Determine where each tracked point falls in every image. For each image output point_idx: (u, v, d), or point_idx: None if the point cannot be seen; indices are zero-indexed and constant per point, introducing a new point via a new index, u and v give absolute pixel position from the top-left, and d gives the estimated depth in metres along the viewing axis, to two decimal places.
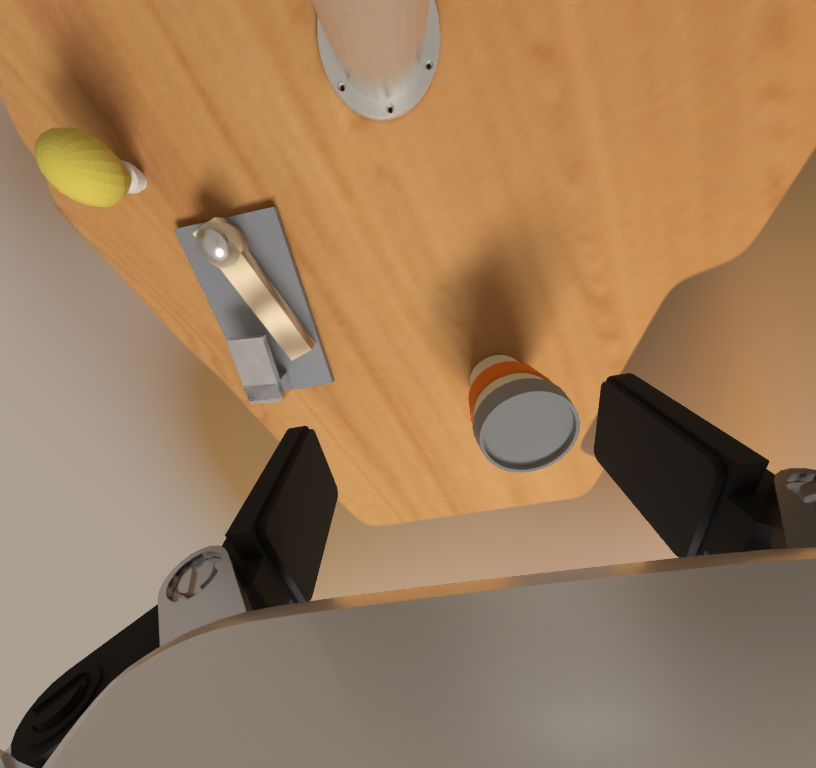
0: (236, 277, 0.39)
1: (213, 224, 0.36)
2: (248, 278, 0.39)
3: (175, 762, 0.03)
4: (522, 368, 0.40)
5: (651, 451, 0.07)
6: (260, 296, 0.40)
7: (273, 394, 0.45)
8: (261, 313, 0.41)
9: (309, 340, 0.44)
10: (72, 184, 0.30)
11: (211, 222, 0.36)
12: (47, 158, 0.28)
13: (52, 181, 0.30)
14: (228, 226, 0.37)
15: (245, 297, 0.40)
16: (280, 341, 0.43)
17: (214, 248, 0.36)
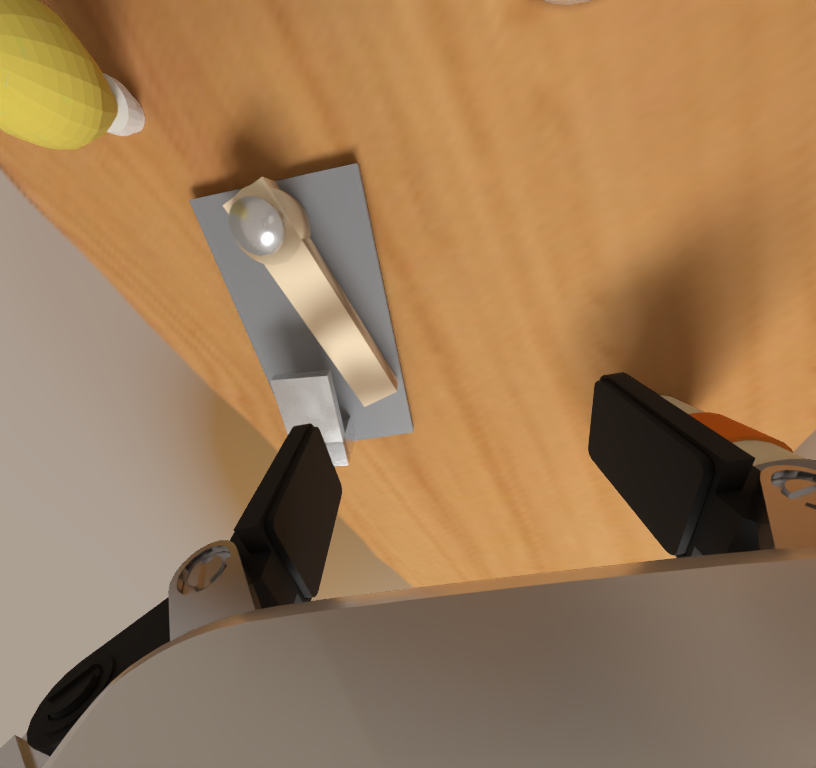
0: (291, 280, 0.24)
1: (259, 189, 0.21)
2: (310, 282, 0.24)
3: (175, 762, 0.03)
4: (749, 431, 0.25)
5: (643, 449, 0.07)
6: (327, 311, 0.25)
7: (335, 455, 0.30)
8: (326, 337, 0.26)
9: (391, 376, 0.29)
10: None
11: (256, 186, 0.21)
12: None
13: None
14: (283, 194, 0.22)
15: (303, 311, 0.25)
16: (350, 379, 0.28)
17: (261, 231, 0.21)
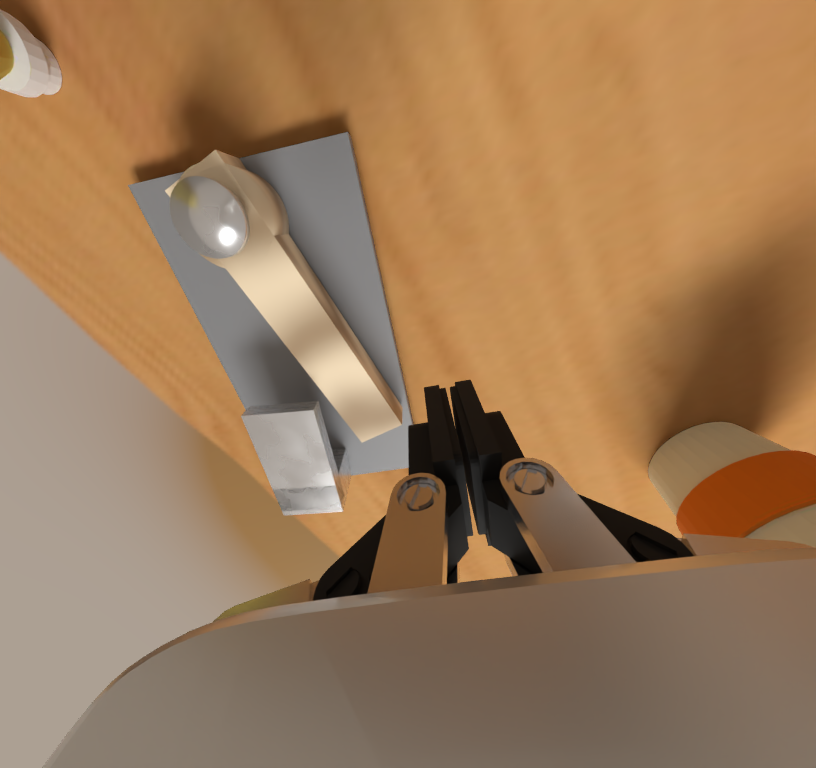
0: (263, 290, 0.18)
1: (213, 168, 0.15)
2: (289, 292, 0.18)
3: (175, 762, 0.03)
4: None
5: (462, 446, 0.09)
6: (311, 329, 0.19)
7: (326, 501, 0.24)
8: (312, 360, 0.20)
9: (395, 405, 0.24)
10: None
11: (208, 163, 0.15)
12: None
13: None
14: (247, 174, 0.16)
15: (281, 329, 0.19)
16: (344, 411, 0.22)
17: (216, 225, 0.15)
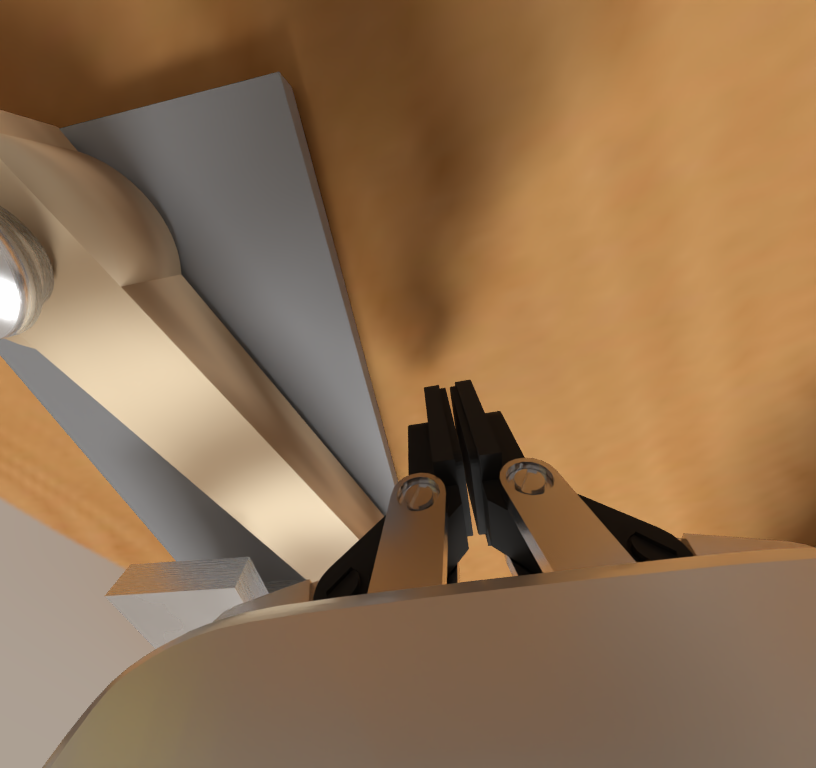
0: (122, 386, 0.09)
1: None
2: (172, 389, 0.09)
3: (175, 762, 0.03)
4: None
5: (462, 446, 0.09)
6: (226, 448, 0.10)
7: None
8: (234, 496, 0.11)
9: None
10: None
11: None
12: None
13: None
14: (43, 155, 0.07)
15: (170, 450, 0.10)
16: (298, 563, 0.13)
17: None
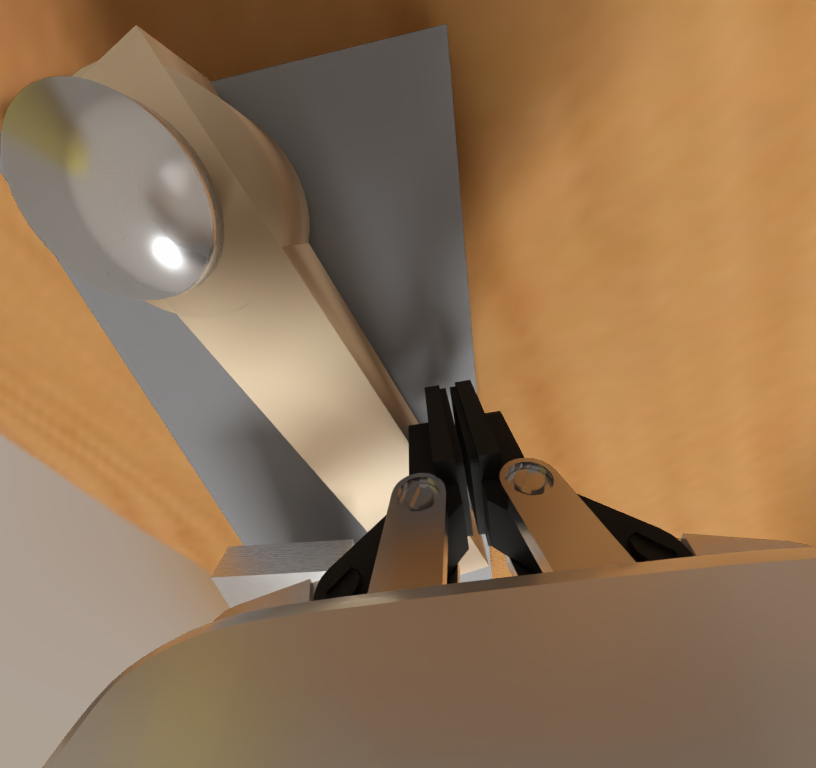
0: (256, 356, 0.09)
1: (133, 77, 0.06)
2: (308, 360, 0.09)
3: (175, 762, 0.03)
4: None
5: (462, 446, 0.09)
6: (349, 425, 0.10)
7: None
8: (344, 475, 0.11)
9: (473, 526, 0.14)
10: None
11: (120, 64, 0.06)
12: None
13: None
14: (222, 102, 0.07)
15: (290, 426, 0.10)
16: None
17: (134, 219, 0.06)
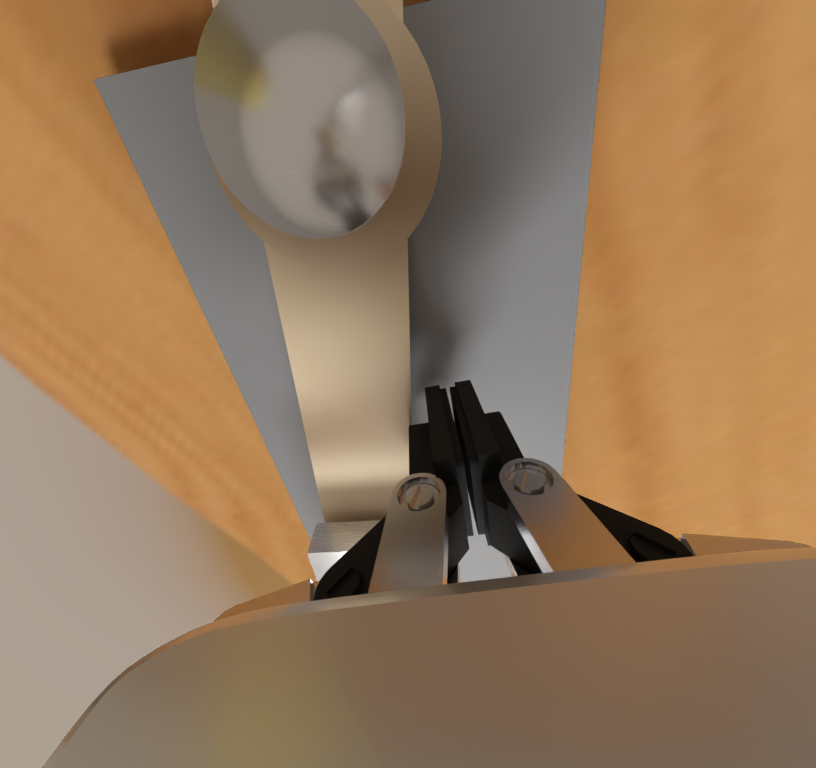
0: (319, 319, 0.09)
1: (368, 14, 0.06)
2: (367, 346, 0.09)
3: (175, 762, 0.03)
4: None
5: (462, 446, 0.09)
6: (368, 418, 0.10)
7: None
8: (335, 460, 0.11)
9: None
10: None
11: None
12: None
13: None
14: None
15: (311, 396, 0.10)
16: None
17: (321, 144, 0.05)
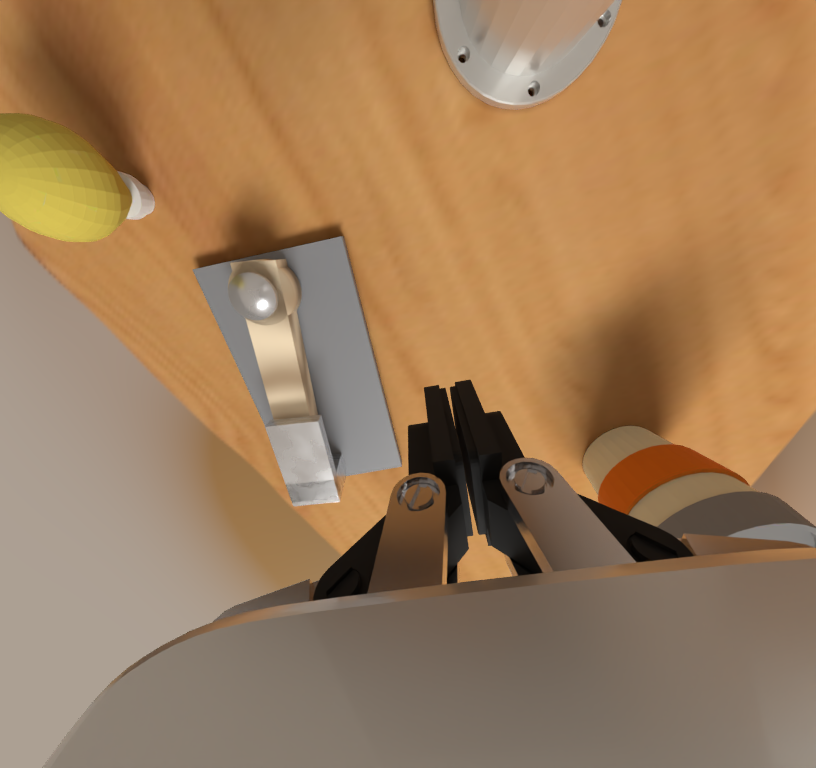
0: (264, 340, 0.27)
1: (268, 267, 0.24)
2: (280, 348, 0.27)
3: (175, 762, 0.03)
4: (704, 463, 0.27)
5: (462, 446, 0.09)
6: (285, 374, 0.28)
7: (327, 493, 0.32)
8: (275, 393, 0.29)
9: None
10: (30, 208, 0.17)
11: (267, 263, 0.24)
12: None
13: None
14: (288, 277, 0.25)
15: (263, 366, 0.28)
16: None
17: (257, 300, 0.24)
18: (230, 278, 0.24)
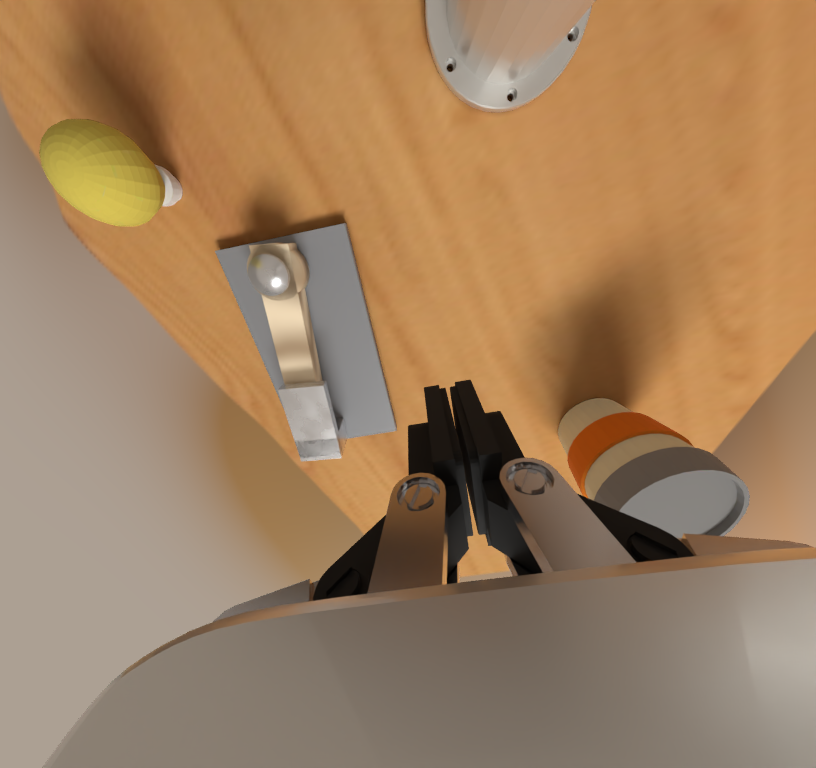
0: (277, 314, 0.31)
1: (281, 250, 0.28)
2: (291, 321, 0.31)
3: (175, 762, 0.03)
4: (655, 426, 0.31)
5: (462, 446, 0.09)
6: (294, 344, 0.32)
7: (330, 450, 0.37)
8: (286, 360, 0.33)
9: None
10: (92, 198, 0.21)
11: (280, 246, 0.28)
12: (58, 163, 0.20)
13: (64, 194, 0.21)
14: (298, 259, 0.29)
15: (276, 337, 0.32)
16: None
17: (272, 278, 0.28)
18: (249, 259, 0.28)
